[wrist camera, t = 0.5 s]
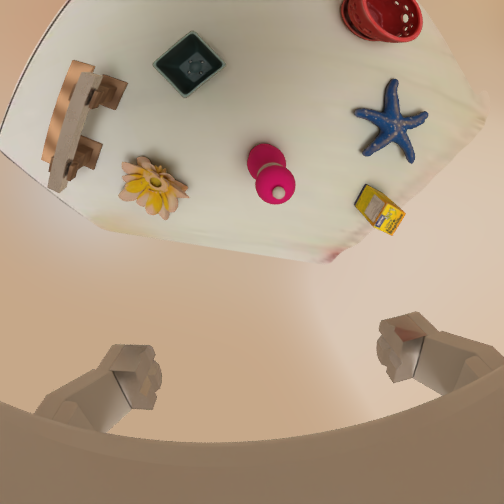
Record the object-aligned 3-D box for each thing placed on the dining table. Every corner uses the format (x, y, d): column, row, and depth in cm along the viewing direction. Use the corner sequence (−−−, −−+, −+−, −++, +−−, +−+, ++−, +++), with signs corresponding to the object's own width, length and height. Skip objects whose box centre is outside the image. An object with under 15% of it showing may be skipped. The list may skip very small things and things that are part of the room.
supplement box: (371, 213, 63) (392, 236, 54) (353, 204, 61) (372, 227, 52) (383, 192, 60) (406, 213, 51) (365, 182, 58) (387, 203, 49)
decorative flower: (107, 186, 53) (96, 198, 44) (137, 142, 51) (131, 146, 42) (161, 223, 60) (160, 241, 51) (192, 183, 58) (196, 194, 50)
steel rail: (89, 71, 32) (81, 72, 30) (103, 76, 33) (95, 76, 31) (55, 181, 42) (47, 187, 40) (66, 187, 43) (59, 193, 41)
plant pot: (342, 44, 41) (369, 37, 31) (331, -10, 33) (354, -27, 24) (396, 48, 40) (429, 46, 30) (386, -3, 33) (417, -14, 23)
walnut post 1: (104, 74, 41) (76, 75, 31) (128, 83, 43) (103, 84, 33) (93, 100, 43) (64, 107, 34) (116, 109, 45) (90, 117, 36)
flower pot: (163, 67, 42) (150, 64, 34) (198, 38, 39) (192, 29, 32) (192, 97, 46) (184, 99, 39) (228, 68, 43) (227, 65, 36)
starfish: (423, 85, 45) (435, 87, 41) (416, 159, 55) (428, 166, 51) (350, 71, 44) (361, 71, 40) (348, 155, 55) (357, 162, 51)
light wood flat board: (74, 60, 37) (72, 60, 36) (95, 66, 39) (93, 66, 38) (43, 158, 48) (41, 159, 47) (61, 166, 50) (59, 167, 49)
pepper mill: (245, 174, 56) (252, 219, 39) (246, 140, 52) (253, 170, 35) (280, 174, 56) (302, 218, 40) (282, 141, 52) (307, 170, 36)
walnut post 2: (81, 135, 47) (52, 149, 37) (102, 144, 49) (76, 159, 39) (73, 159, 50) (45, 177, 40) (94, 168, 52) (69, 188, 42)
